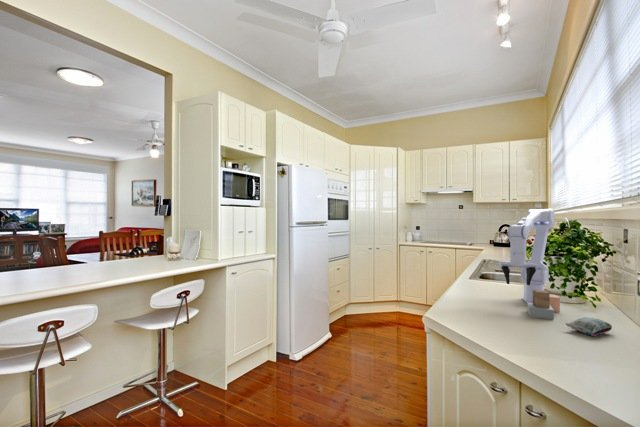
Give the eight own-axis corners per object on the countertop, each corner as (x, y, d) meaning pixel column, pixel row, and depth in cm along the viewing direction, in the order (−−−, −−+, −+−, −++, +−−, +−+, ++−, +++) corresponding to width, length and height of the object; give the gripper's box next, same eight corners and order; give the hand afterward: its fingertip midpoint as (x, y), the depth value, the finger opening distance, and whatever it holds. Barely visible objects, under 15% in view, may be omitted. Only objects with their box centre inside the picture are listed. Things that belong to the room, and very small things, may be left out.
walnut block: (532, 304, 134) (532, 289, 134) (545, 305, 132) (545, 290, 133) (536, 307, 129) (536, 292, 129) (549, 308, 128) (549, 292, 128)
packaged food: (565, 331, 114) (565, 316, 114) (584, 326, 119) (584, 312, 119) (594, 340, 106) (595, 325, 106) (613, 334, 111) (614, 320, 111)
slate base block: (526, 312, 136) (527, 302, 136) (550, 314, 133) (550, 305, 133) (529, 317, 129) (529, 307, 129) (553, 320, 126) (554, 310, 126)
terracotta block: (543, 308, 141) (543, 294, 141) (555, 309, 140) (555, 295, 140) (547, 311, 137) (547, 296, 137) (559, 312, 135) (559, 297, 135)
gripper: (501, 253, 139) (501, 284, 139) (540, 254, 134) (540, 287, 134) (497, 251, 146) (497, 281, 146) (535, 252, 141) (535, 284, 141)
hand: (517, 284), depth 140 cm, fingers open, 7 cm apart
